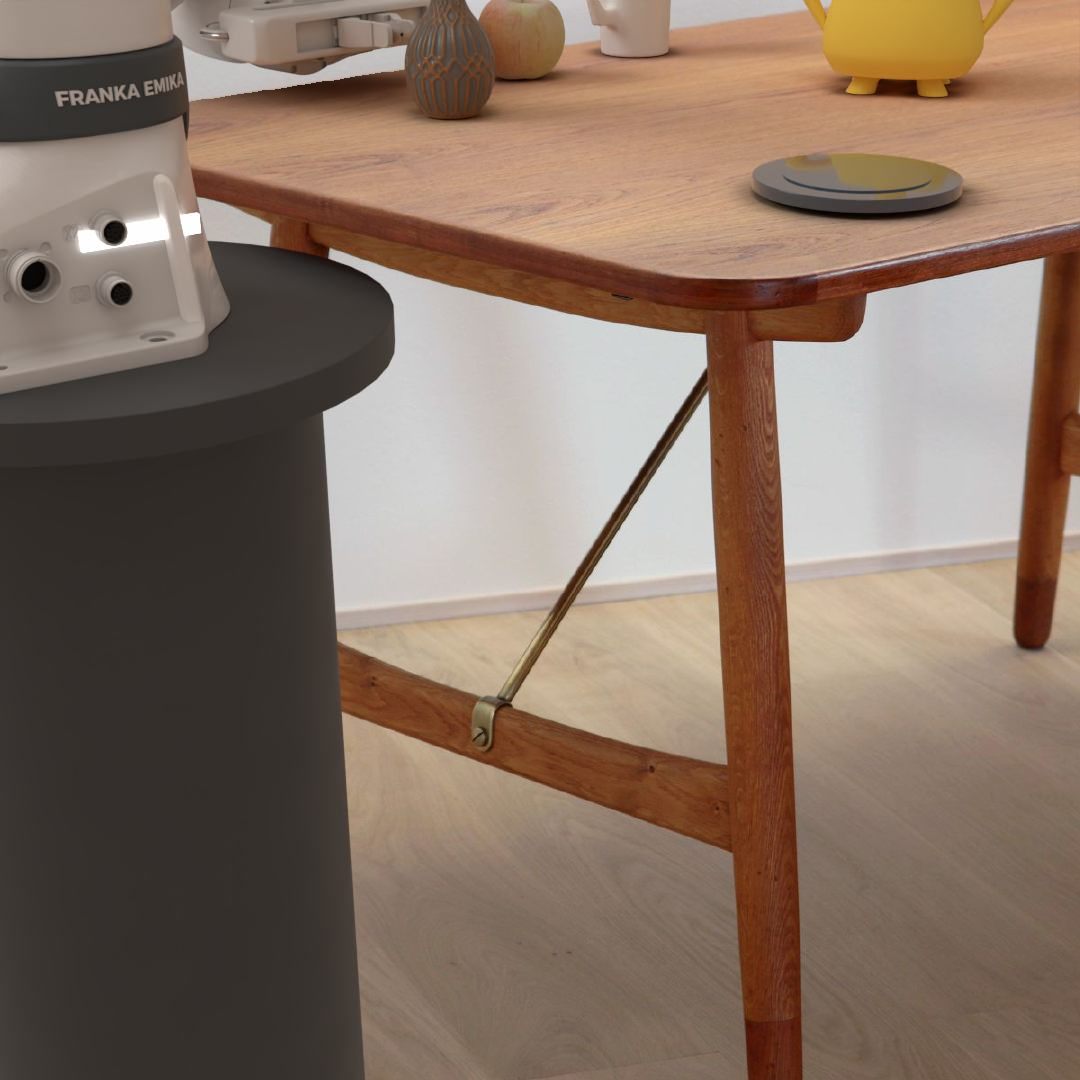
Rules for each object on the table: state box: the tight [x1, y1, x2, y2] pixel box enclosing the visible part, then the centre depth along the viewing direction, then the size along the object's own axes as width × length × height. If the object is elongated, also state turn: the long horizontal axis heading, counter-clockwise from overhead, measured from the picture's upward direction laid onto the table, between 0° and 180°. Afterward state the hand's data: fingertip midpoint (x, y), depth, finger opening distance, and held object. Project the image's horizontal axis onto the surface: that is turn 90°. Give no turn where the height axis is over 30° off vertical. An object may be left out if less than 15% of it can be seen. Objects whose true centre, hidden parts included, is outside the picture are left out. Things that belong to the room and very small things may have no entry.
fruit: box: [477, 0, 566, 80], centre depth 146 cm, size 8×7×8 cm
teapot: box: [802, 0, 1015, 98], centre depth 141 cm, size 14×14×12 cm
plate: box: [751, 152, 964, 214], centre depth 108 cm, size 13×13×1 cm
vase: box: [404, 0, 496, 120], centre depth 132 cm, size 7×7×9 cm
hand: (402, 34), depth 135 cm, fingers closed
